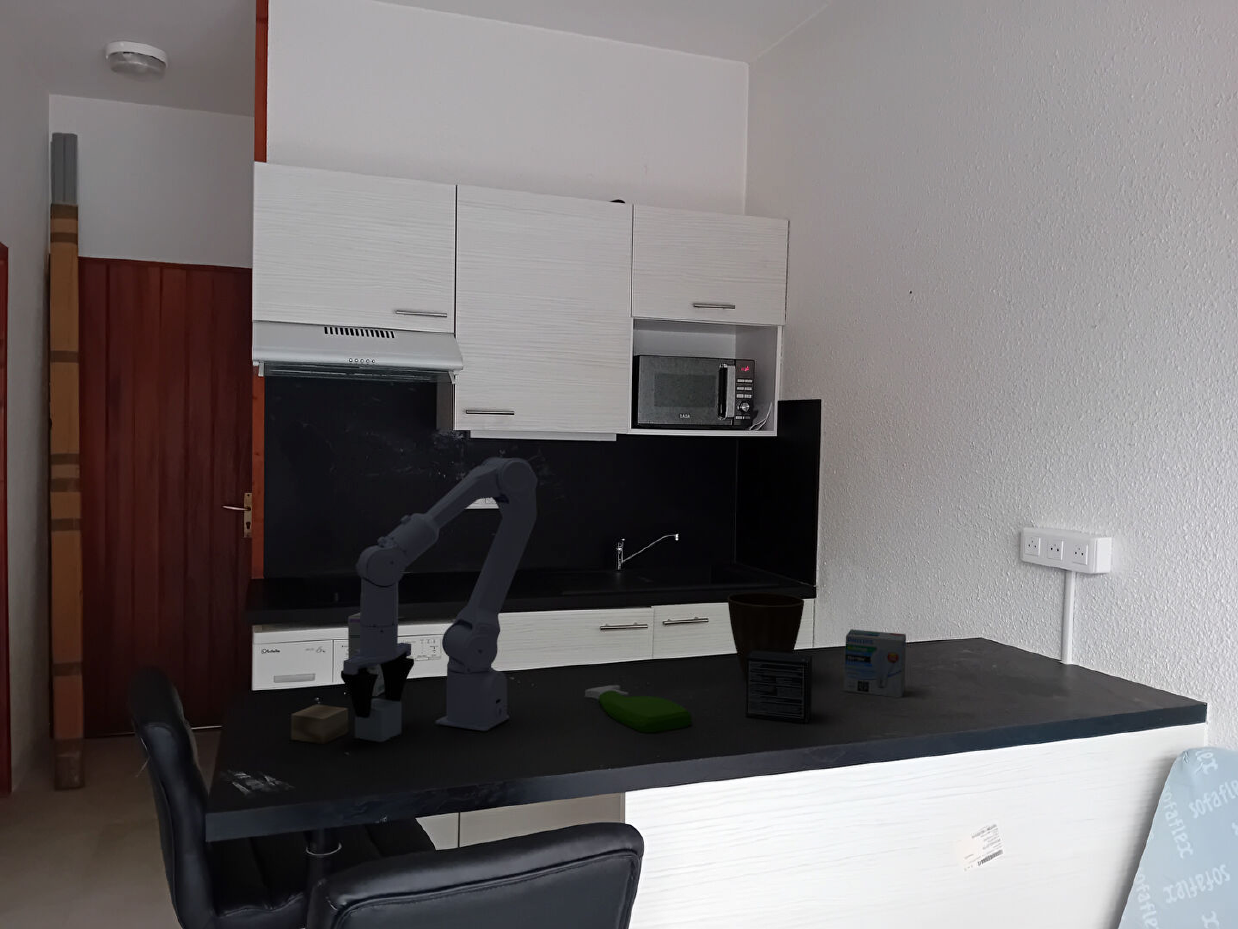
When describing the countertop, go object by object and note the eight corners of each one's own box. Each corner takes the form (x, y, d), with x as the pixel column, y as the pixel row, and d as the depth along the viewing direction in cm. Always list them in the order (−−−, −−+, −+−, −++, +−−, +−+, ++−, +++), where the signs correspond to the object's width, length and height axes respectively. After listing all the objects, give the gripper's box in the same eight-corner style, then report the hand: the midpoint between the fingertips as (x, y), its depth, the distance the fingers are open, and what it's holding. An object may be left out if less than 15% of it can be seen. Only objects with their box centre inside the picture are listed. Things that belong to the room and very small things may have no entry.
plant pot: (817, 679, 183) (818, 598, 182) (776, 694, 172) (778, 608, 171) (753, 666, 193) (754, 590, 192) (711, 679, 181) (712, 598, 181)
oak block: (348, 733, 146) (348, 708, 145) (323, 745, 140) (323, 719, 140) (316, 729, 148) (316, 704, 148) (291, 740, 142) (291, 714, 142)
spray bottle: (641, 738, 146) (571, 701, 168) (698, 728, 152) (623, 694, 173) (641, 719, 146) (571, 685, 168) (698, 710, 152) (623, 678, 173)
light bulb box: (843, 692, 174) (844, 634, 174) (848, 683, 180) (849, 628, 180) (902, 698, 170) (903, 640, 170) (905, 689, 176) (906, 633, 176)
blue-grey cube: (401, 733, 146) (401, 702, 146) (381, 742, 141) (381, 710, 141) (375, 729, 148) (375, 698, 148) (354, 738, 143) (355, 706, 143)
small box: (812, 714, 159) (813, 653, 159) (807, 725, 153) (808, 661, 153) (751, 707, 163) (752, 648, 162) (744, 717, 156) (745, 656, 156)
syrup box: (377, 697, 166) (378, 616, 166) (347, 694, 167) (347, 614, 167) (391, 688, 172) (392, 610, 171) (362, 686, 173) (362, 609, 172)
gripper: (386, 614, 152) (385, 696, 152) (327, 629, 139) (326, 719, 139) (422, 617, 150) (421, 701, 150) (365, 634, 136) (364, 725, 136)
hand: (377, 710), depth 144 cm, fingers open, 7 cm apart
